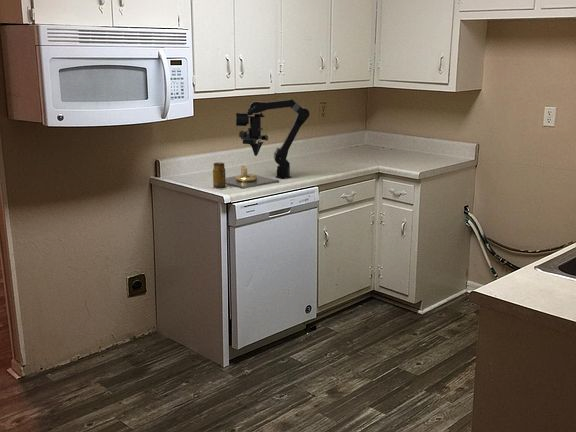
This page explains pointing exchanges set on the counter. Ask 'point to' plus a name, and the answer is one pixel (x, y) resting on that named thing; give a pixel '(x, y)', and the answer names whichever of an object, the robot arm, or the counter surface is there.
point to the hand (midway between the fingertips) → (255, 155)
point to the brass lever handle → (245, 175)
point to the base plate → (249, 182)
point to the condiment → (219, 176)
